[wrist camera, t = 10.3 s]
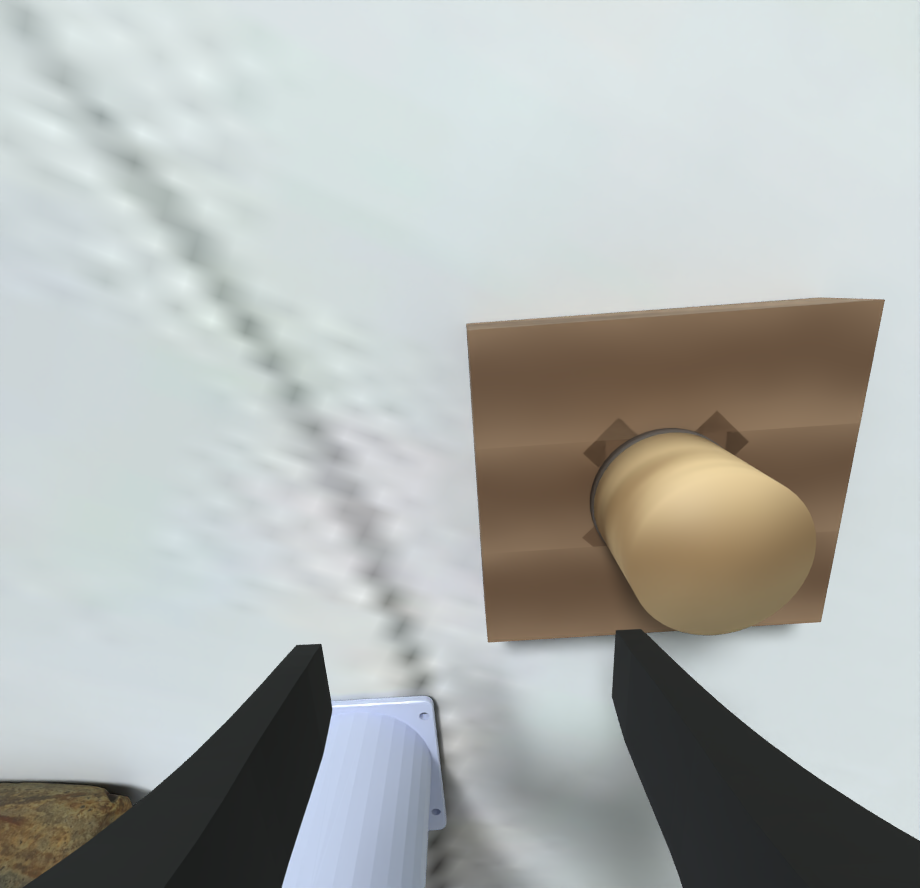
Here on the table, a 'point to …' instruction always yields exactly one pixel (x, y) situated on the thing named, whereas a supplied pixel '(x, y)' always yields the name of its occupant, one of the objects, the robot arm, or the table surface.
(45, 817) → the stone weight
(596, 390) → the board
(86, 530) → the table surface
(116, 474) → the table surface
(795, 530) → the peg
